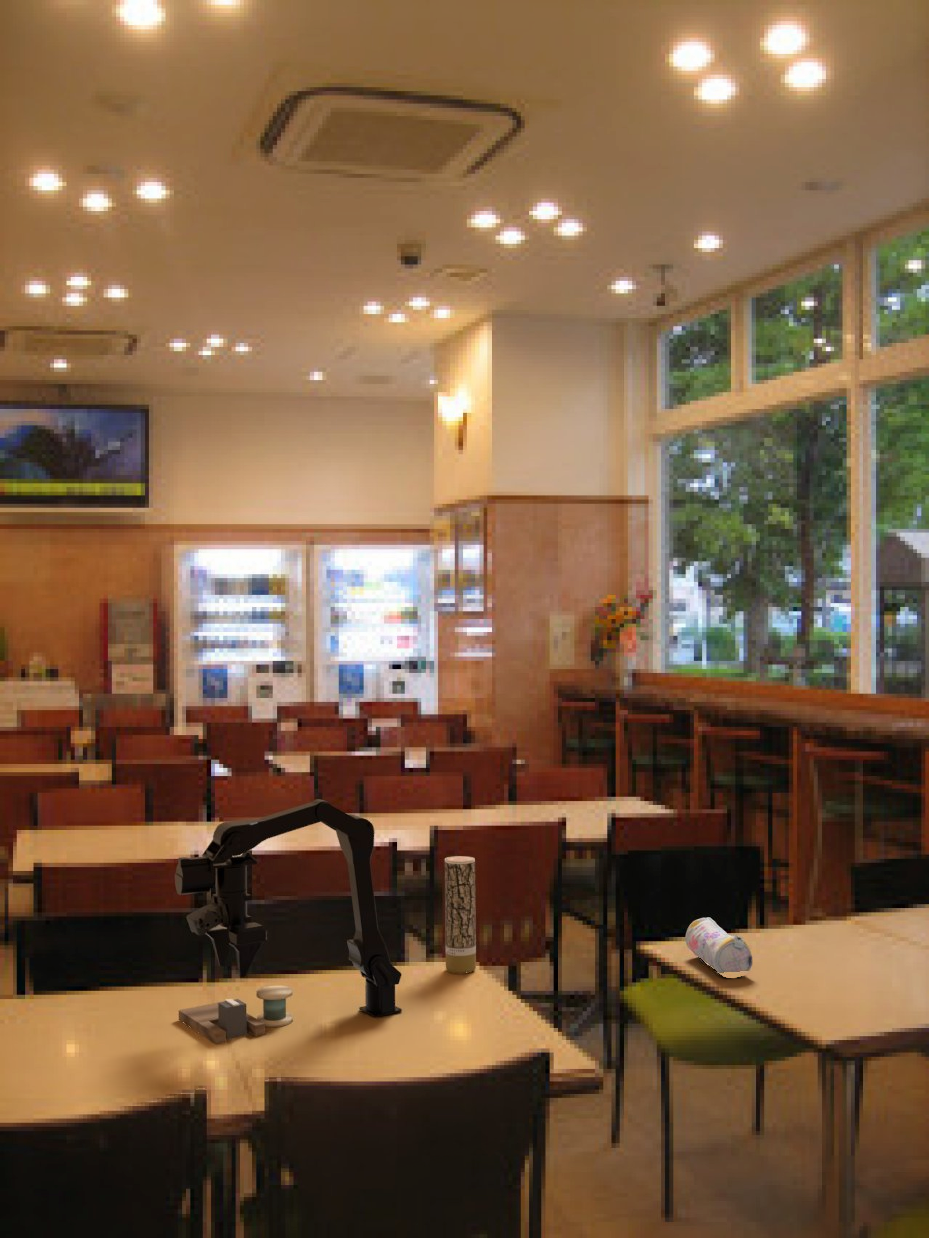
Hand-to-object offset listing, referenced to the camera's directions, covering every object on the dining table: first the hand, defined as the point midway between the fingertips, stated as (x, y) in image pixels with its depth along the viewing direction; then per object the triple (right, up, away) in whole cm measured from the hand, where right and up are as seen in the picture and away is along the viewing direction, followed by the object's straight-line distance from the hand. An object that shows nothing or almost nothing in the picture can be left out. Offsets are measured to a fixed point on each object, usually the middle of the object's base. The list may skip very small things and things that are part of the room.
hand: (232, 971), depth 243 cm
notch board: (-3, -12, +5) cm, 13 cm away
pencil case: (+101, -11, +43) cm, 111 cm away
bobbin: (+7, -12, +8) cm, 16 cm away
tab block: (0, -12, 0) cm, 12 cm away
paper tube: (+43, -12, +43) cm, 62 cm away
